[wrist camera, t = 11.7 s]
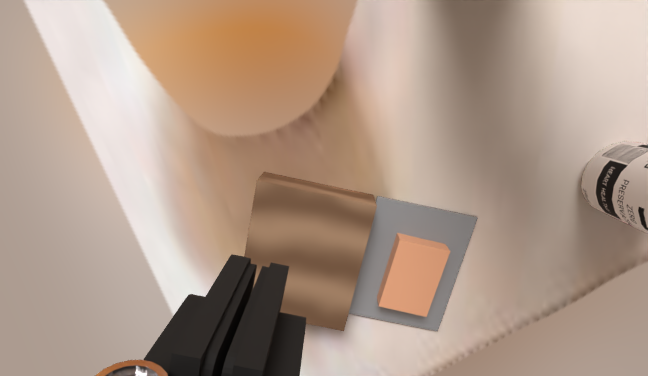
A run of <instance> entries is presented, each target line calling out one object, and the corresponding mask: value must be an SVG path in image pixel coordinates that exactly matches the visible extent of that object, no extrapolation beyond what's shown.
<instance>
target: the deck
mask: <svg viewBox="0 0 648 376" xmlns="http://www.w3.org/2000/svg"><path fill="white" fill-rule="evenodd" d="M376 208H377V205H376V202H375V199H374V196H373V195H371V194H366V193H361V192H357V191H352V190H347V189H342V188H338V187H333V186H328V185H323V184H319V183H314V182H309V181H305V180H300V179H295V178H290V177H286V176H281V175H276V174H272V173H267V172H264V173H263V174H262V175H261V176H260V178H259V179H258V180H257V183H256V189H255V195H254V201H253V207H252V213H251V220H250V226H249V232H248V238H247V244H246V250H245V256H244V257H247V258H251V264H256V265H257V269H256V275H255V280H254V285H255V283H256V280H257V278H258V275H259V273H260V270H261V268H262V266H266V267H269V266H270V263H271V262H272V263H276V264H281V265H286V266H289V271H288V276H287V281H286V286H285V291H284V295H283V300H282V305H281V310H280V312H282V313H287V314H292V315H297V316H302V317H306V324H311V325H316V326H321V327H326V328H331V329H336V330H341V331H344V328H345V324H346V321H347V317H348V313H349V309H350V306H351V302H352V298H353V294H354V291H355V287H356V283H357V279H358V276H359V272H360V268H361V264H362V261H363V257H364V253H365V249H366V246H367V242H368V238H369V234H370V231H371V227H372V223H373V219H374V216H375V212H376ZM253 288H254V286H253Z"/></svg>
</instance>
